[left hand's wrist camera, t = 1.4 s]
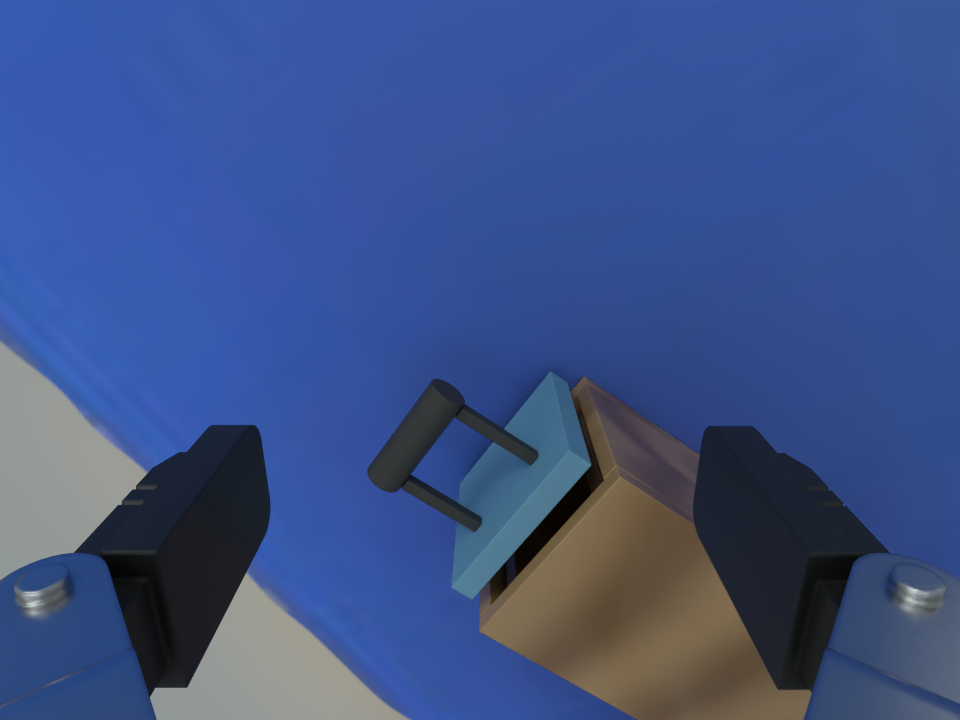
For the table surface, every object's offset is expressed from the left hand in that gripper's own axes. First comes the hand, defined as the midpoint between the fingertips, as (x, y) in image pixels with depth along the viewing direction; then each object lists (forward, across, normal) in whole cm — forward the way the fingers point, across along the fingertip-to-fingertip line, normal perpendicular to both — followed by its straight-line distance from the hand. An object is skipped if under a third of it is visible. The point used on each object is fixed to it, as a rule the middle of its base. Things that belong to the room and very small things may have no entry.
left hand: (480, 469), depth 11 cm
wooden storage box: (+22, -12, +18) cm, 31 cm away
